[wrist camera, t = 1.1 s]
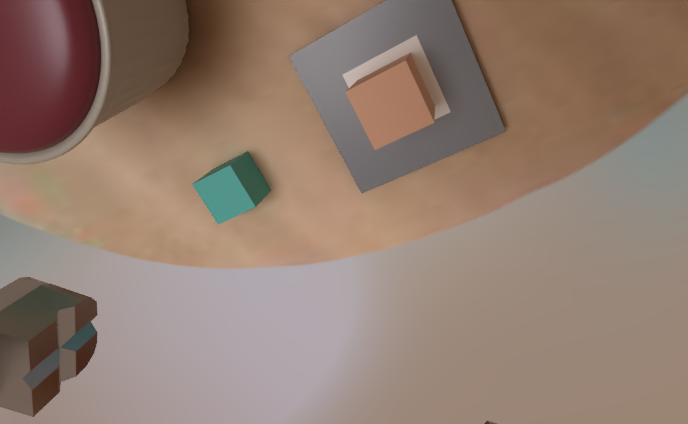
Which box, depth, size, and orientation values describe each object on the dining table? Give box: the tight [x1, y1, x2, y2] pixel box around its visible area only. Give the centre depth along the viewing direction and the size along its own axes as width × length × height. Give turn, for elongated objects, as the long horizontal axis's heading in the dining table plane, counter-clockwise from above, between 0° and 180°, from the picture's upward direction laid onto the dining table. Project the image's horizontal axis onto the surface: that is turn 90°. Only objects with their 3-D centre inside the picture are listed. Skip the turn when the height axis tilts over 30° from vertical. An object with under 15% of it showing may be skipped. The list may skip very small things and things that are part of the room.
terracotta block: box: [345, 52, 435, 150], centre depth 38 cm, size 5×5×6 cm
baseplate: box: [289, 0, 506, 193], centre depth 41 cm, size 14×14×1 cm
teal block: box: [192, 152, 271, 224], centre depth 46 cm, size 4×4×4 cm
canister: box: [0, 0, 190, 164], centre depth 34 cm, size 18×18×21 cm
